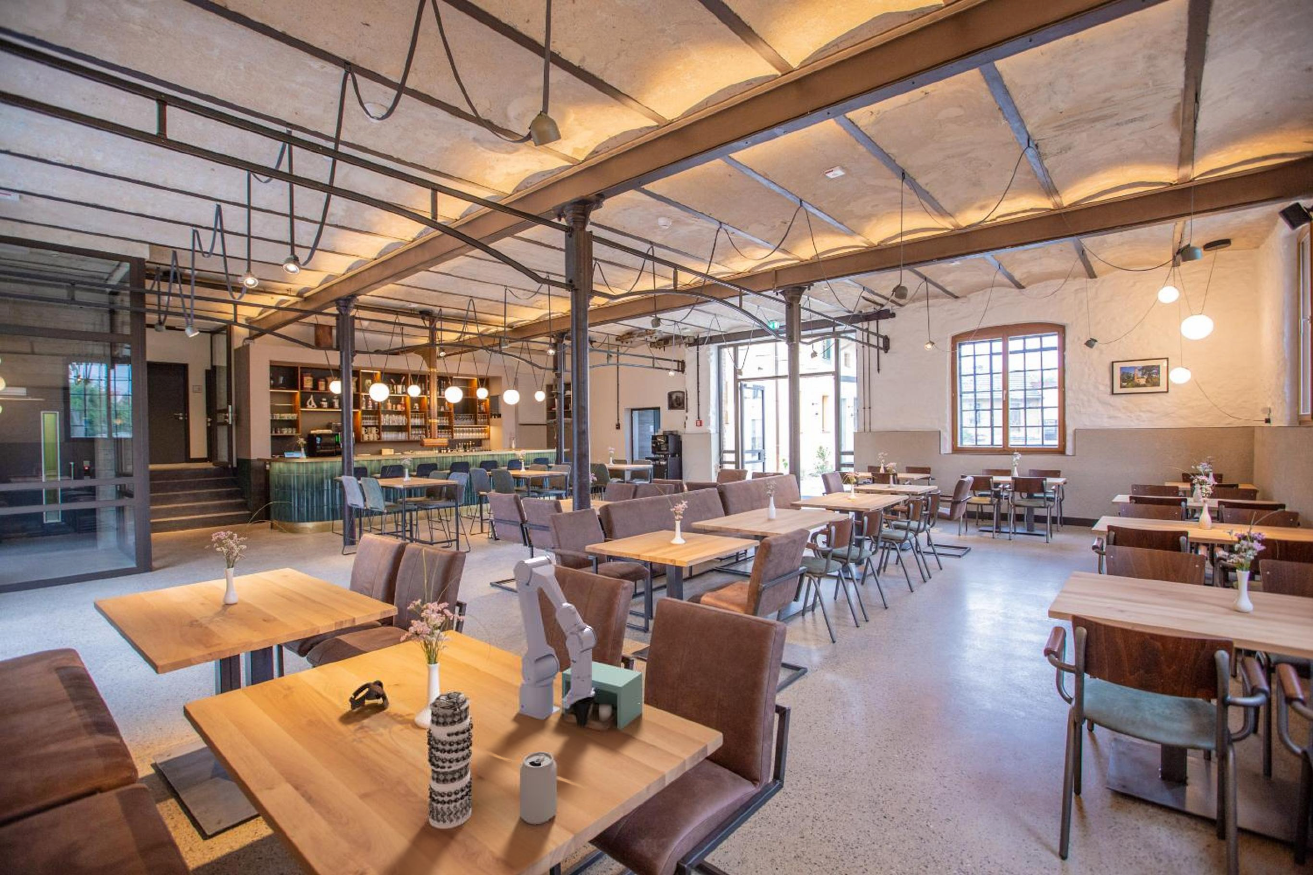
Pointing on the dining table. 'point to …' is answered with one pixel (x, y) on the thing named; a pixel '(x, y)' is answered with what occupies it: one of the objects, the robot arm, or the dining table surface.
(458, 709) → the decorative candle
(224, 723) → the dining table surface
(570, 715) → the tray
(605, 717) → the pale pink cylinder
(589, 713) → the cup
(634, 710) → the box
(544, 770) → the can
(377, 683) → the dark brown looped arch
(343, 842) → the dining table surface
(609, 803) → the dining table surface
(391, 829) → the dining table surface
